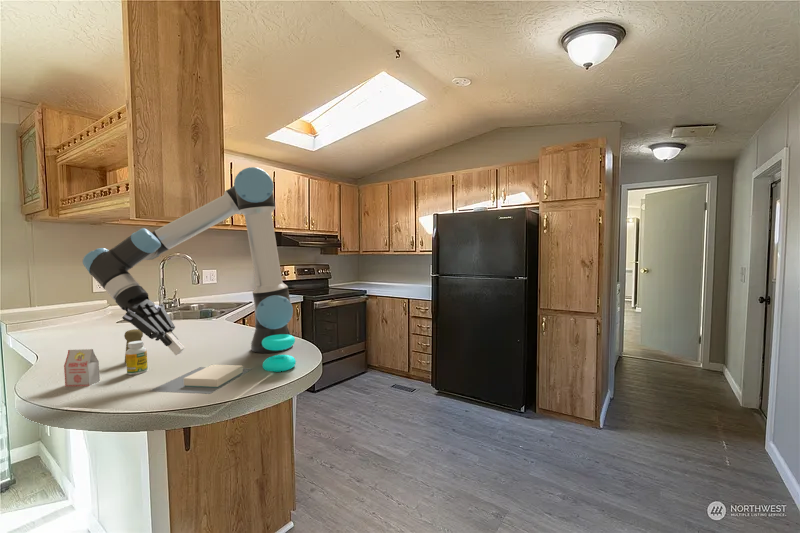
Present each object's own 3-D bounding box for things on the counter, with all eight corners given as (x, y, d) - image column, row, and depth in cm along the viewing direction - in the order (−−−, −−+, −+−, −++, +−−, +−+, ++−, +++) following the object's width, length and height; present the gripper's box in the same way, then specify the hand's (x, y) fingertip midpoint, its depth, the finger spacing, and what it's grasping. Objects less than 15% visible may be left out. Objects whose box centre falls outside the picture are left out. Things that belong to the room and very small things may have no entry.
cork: (134, 364, 124) (132, 332, 124) (119, 363, 125) (117, 331, 125) (150, 359, 130) (148, 328, 130) (135, 358, 131) (134, 327, 131)
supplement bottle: (136, 369, 119) (135, 339, 118) (152, 369, 118) (150, 339, 118) (122, 375, 113) (120, 344, 113) (138, 375, 113) (136, 344, 112)
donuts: (255, 340, 113) (271, 333, 123) (256, 372, 113) (272, 362, 123) (286, 341, 111) (300, 333, 121) (287, 373, 112) (301, 363, 122)
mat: (148, 392, 99) (148, 391, 99) (200, 368, 118) (200, 367, 118) (210, 395, 96) (210, 393, 96) (252, 370, 116) (252, 368, 116)
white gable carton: (76, 381, 108) (74, 348, 108) (99, 381, 108) (97, 347, 108) (65, 386, 105) (63, 351, 104) (89, 386, 105) (87, 351, 104)
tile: (183, 378, 101) (217, 379, 100) (212, 364, 113) (242, 365, 112) (184, 386, 101) (217, 387, 100) (212, 372, 113) (242, 373, 112)
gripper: (139, 297, 117) (188, 353, 115) (99, 305, 104) (154, 367, 102) (153, 281, 115) (203, 337, 114) (114, 287, 102) (170, 349, 101)
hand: (180, 351), depth 108 cm, fingers closed
